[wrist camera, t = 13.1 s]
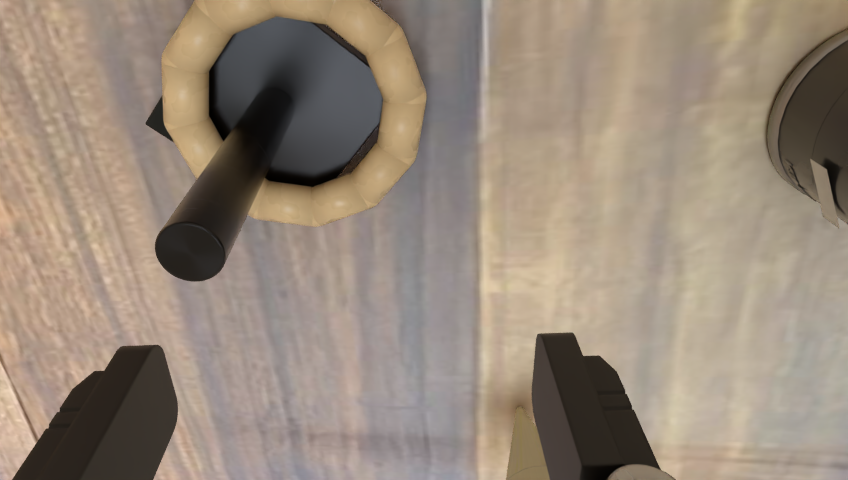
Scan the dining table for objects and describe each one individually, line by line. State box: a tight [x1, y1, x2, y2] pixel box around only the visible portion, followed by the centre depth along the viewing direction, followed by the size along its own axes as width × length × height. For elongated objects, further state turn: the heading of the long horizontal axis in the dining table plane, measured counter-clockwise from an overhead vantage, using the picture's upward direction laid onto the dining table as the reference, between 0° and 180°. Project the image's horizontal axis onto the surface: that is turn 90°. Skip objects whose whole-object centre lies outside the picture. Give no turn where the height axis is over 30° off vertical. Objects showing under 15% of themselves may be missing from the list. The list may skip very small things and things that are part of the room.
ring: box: [162, 0, 427, 227], centre depth 29 cm, size 12×12×2 cm
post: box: [146, 17, 383, 281], centre depth 25 cm, size 9×9×15 cm
